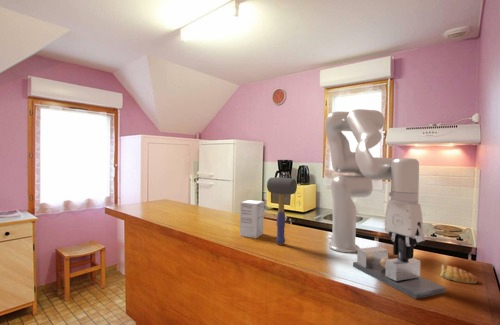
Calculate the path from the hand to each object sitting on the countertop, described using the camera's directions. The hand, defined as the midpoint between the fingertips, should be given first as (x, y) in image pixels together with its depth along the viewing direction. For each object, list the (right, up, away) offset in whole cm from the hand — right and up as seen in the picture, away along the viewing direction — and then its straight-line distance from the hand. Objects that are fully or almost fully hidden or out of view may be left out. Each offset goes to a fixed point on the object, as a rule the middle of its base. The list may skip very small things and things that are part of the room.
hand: (403, 255), depth 83 cm
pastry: (+19, -9, +4) cm, 22 cm away
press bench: (-1, -8, +3) cm, 9 cm away
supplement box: (-47, -8, +51) cm, 70 cm away
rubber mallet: (-34, -8, +36) cm, 50 cm away
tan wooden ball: (-2, -5, +6) cm, 8 cm away
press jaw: (0, -6, 0) cm, 6 cm away
